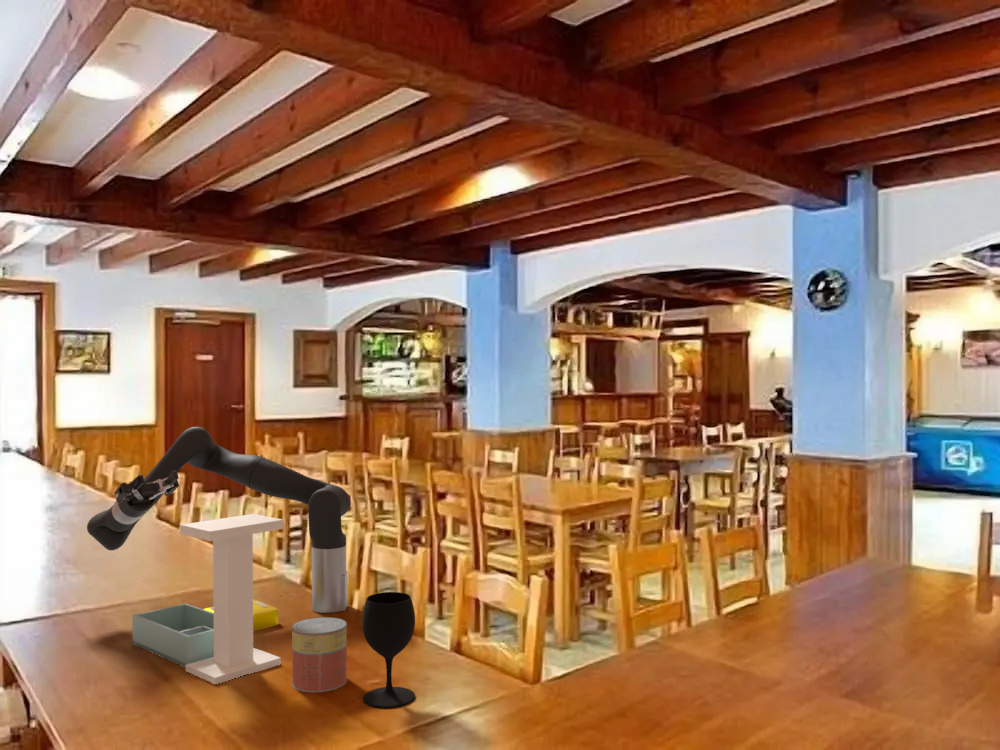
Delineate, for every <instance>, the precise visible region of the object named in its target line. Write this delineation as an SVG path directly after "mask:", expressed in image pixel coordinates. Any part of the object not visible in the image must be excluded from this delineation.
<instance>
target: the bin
mask: <svg viewBox="0 0 1000 750" xmlns="http://www.w3.org/2000/svg"><path fill="white" fill-rule="evenodd" d="M204 609H205V608H202V607H198V606H195V605H191V604H190V603H182V604H176V605H173V606H167V607H162V608H159V609H155V610H149V611H146V612H141V613H137V614H132V617H131V618H132V619H131V620H132V645H133V644H135V645H136V646H135V645H134V646H135V647H137V646H139V647H141V648H144V649H146V650H148V651H151V652H153V653H155V654H157V655H160V656H162V657H164V658H166V659H168V660H167V661H169V660H170V661H169V662H171V661H172V662H171V663H173V662H175V663H177V664H176V665H178V664H179V665H178V666H180V665H182V666H183V667H182V666H181V667H182V668H184V667H185V665H187V664H190V663H194V662H197V661H201V660H204V659H208V658H211V657H214V613H213V612H210V611H207V610H204ZM166 626H168V627H166ZM199 626H206V627H209V628H212V630H209V631H205V632H201V633H197V634H193V635H187V634H184V633H182V632H179V631H184V630H188V629H192V628H196V627H199ZM169 627H171V628H173V629H171V628H169ZM174 629H176V630H174ZM177 630H179V631H177ZM139 647H138V648H139ZM141 648H140V649H141ZM144 649H143V650H144ZM146 650H145V651H146ZM148 651H147V652H148ZM153 653H152V654H153ZM155 654H154V655H155ZM157 655H156V656H157ZM160 656H159V657H160ZM162 657H161V658H162ZM164 658H163V659H164ZM166 659H165V660H166ZM175 663H174V664H175Z"/></svg>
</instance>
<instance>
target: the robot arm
mask: <svg viewBox="0 0 1000 750" xmlns="http://www.w3.org/2000/svg"><path fill="white" fill-rule="evenodd" d="M186 464H189V465H190V466H191V467H194V468H197V469H200V470H204V471H208V472H211V473H215V474H217V475H221V476H223V477H225V478H227V479H229V480H231V481H233V482H236V483H238V484H240V485H243V486H245V487H247V488H249V489H250V490H253V491H256V492H259V493H261V494H262V495H265V496H270V497H274V498H279V499H284V500H292V501H296V502H300V503H302V504H305V505H307V506H308V507H307V508H308V511H307V514H308V515H307V517H308V533H309V534H308V535H309V537H310V538H309V539H310V540H311V604H312V605H311V607H312V611H313V612H316V613H321V614H322V613H324V614H327V613H328V614H330V613H338V612H345V611H346V610H347V607H348V605H349V603H348V600H349V599H348V595H349V594H348V588H349V587H348V585H349V584H348V582H349V581H348V570H347V536H346V534H345V533H344V532H343V530H342V517H344V515H346V514H347V513H348V512H349V510H350V508H351V499H350V496H349V494H348V492H347V491H346V490H345V489H344V488H342V487H341V486H339V485H335V484H331V483H330V482H329V483H327V482H326V481H325V482H324V481H322V480H318V479H314V478H311V477H308V476H306V475H305V474H302V473H300V472H298V471H296V470H294V469H292V468H289V467H287V466H284V465H282V464H280V463H279V462H276V461H273V460H272V459H268V458H266V457H263V456H260V455H255V454H241V453H237V452H234V451H231V450H228V449H227V448H225V447H223V446H220V445H219V444H217V442H215V441H214V440H213V437H212V436H211V434H210V433H209V431H208V430H206V428H204V427H201V426H192V427H189V428H187V429H185V430H184V431H182V433H181V434H180V435H179V436H178V437H177V439H175V441H174V443H172V445H171V446H170V447H169V449H168V450H167V451H166V452H165V453H164V455H163V456H162V457H161V459H160V460H159V461H158V462H157V463H156V465H155V466H154V467H153V468H152V469H151V470H150V472H148V474H147V475H145V477H144V476H143V474H138V475H137V476H136V477H134V479H133V480H131V481H128V482H129V483H126V482H121V484H120V485H118V487H117V488H116V490H115V491H114V493H113V494H114V496H115V501H114V503H113V505H112V506H111V507H110V508H109V509H106V510H103V511H101V512H98V513H97V514H95V515H93V516H92V517H91V518H90V519H89V521H88V522H87V524H86V531H87V532H88V535H90V536H91V537H93V538H94V540H96V541H97V542H98V544H100V545H101V546H103V548H105V549H106V550H107V551H116V550H118V549H120V548H121V547H122V546H123V545H124V544H125V543H126V541H127V539H128V537H129V536H130V534H131V532H132V531H133V529H134V527H135V526H136V525H137V523H138V522H139V521H140V520H141V519H142V517H143V516H144V515H145V514H147V512H149V511H150V510H151V509H152V508H153V507H155V505H156V504H157V502H158V501H159V500H160V499H162V497H163V495H164V496H165V497H168V496H170V495H171V494H172V493H173V492H175V491H176V490H177V489H178V488H179V487H180V484H179V482H178V480H179V474H178V472H179V471H180V470H181V469H182V468H183V467H184V466H185V465H186Z"/></svg>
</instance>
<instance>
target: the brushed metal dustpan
mask: <svg viewBox="0 0 1000 750" xmlns="http://www.w3.org/2000/svg"><path fill="white" fill-rule="evenodd" d="M166 627H168V626H166ZM169 628H171V627H169ZM171 629H173V628H171ZM174 630H176V629H174ZM209 630H212V628H209V627H206V626H199V627H196V628H192V629H188V630H184V631H179V630H177V631H179V632H182V633H184V634H187V635H193V634H197V633H201V632H205V631H209Z"/></svg>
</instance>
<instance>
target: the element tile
mask: <svg viewBox="0 0 1000 750" xmlns="http://www.w3.org/2000/svg"><path fill="white" fill-rule="evenodd" d="M203 609H204V610H207V611H210V612H213V613H214V607H213V606H211V607H210V606H209V607H205V608H203ZM275 625H276V626H278V625H279V609H278V608H277V607H275V606H272V605H270V604H267V603H265V602H262V601H260V600H257V599H254V598H253V632H254V631H259V630H264V629H268V628H271V627H272V626H273V627H275Z"/></svg>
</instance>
